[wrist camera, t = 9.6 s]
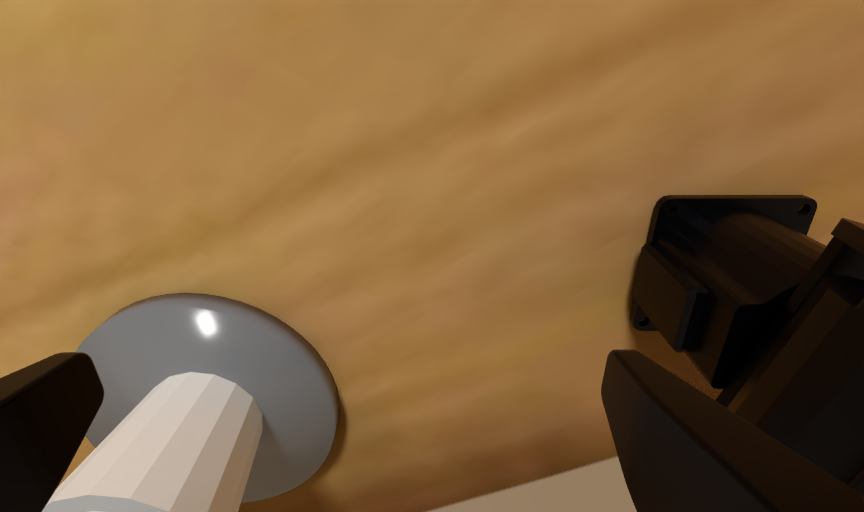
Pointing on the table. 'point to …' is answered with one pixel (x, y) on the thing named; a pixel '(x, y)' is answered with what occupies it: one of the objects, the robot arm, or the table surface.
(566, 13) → the table surface
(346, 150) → the table surface
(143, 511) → the white cup
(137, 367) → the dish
